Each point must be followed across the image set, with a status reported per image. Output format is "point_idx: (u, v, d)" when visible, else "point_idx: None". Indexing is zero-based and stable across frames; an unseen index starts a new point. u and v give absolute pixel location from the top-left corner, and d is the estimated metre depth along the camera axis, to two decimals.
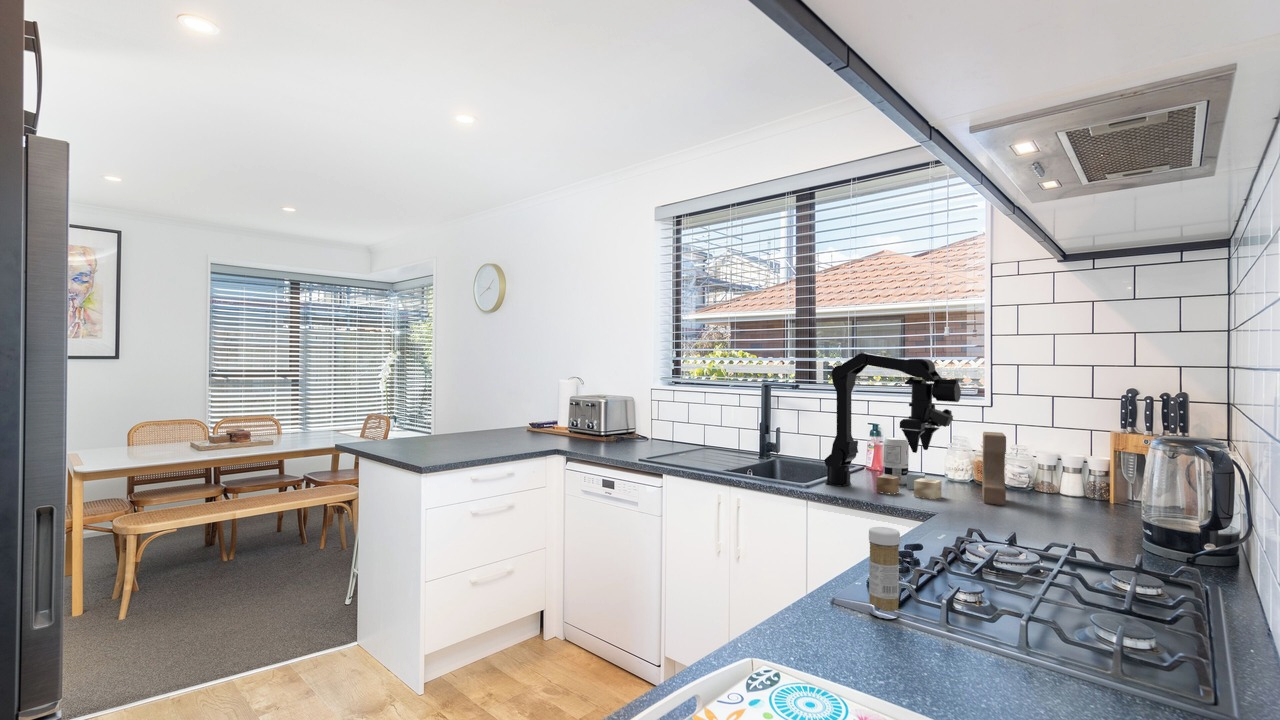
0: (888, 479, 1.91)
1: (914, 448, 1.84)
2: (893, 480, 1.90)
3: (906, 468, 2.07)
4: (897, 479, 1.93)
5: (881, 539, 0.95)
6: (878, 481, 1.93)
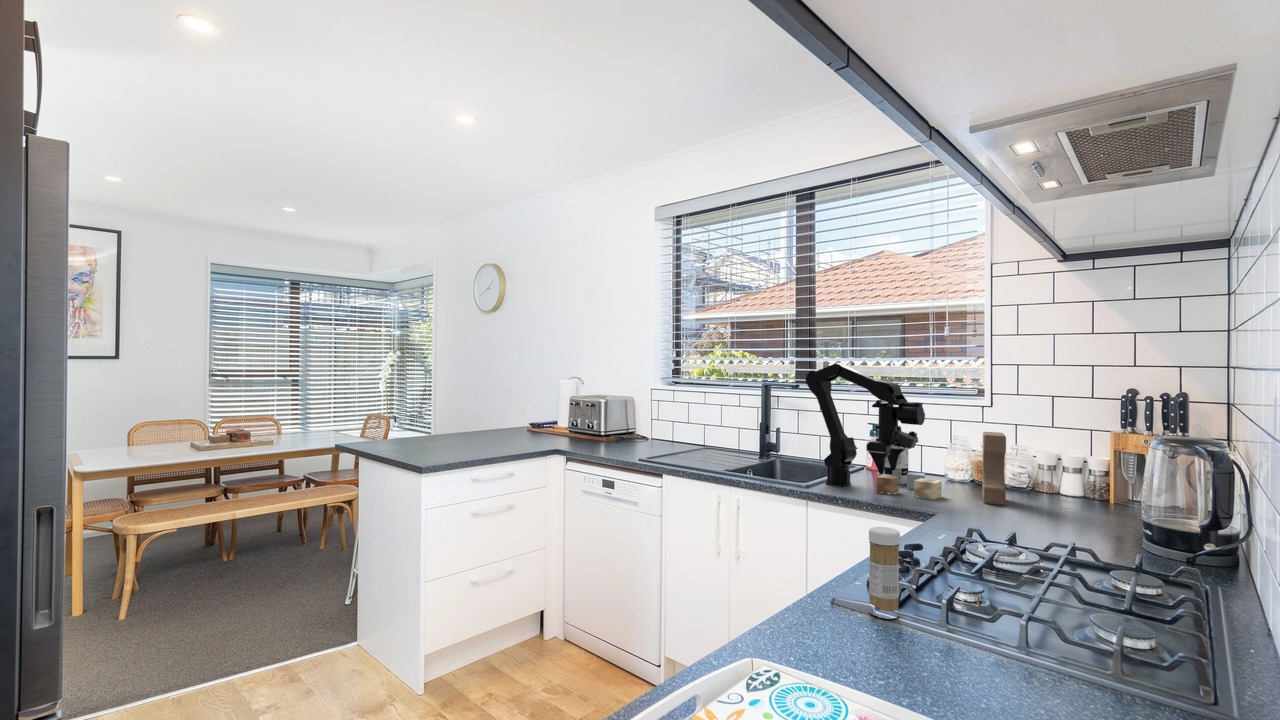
0: (888, 479, 1.91)
1: (881, 469, 1.90)
2: (893, 480, 1.90)
3: (906, 468, 2.07)
4: (897, 479, 1.93)
5: (881, 539, 0.95)
6: (878, 481, 1.93)
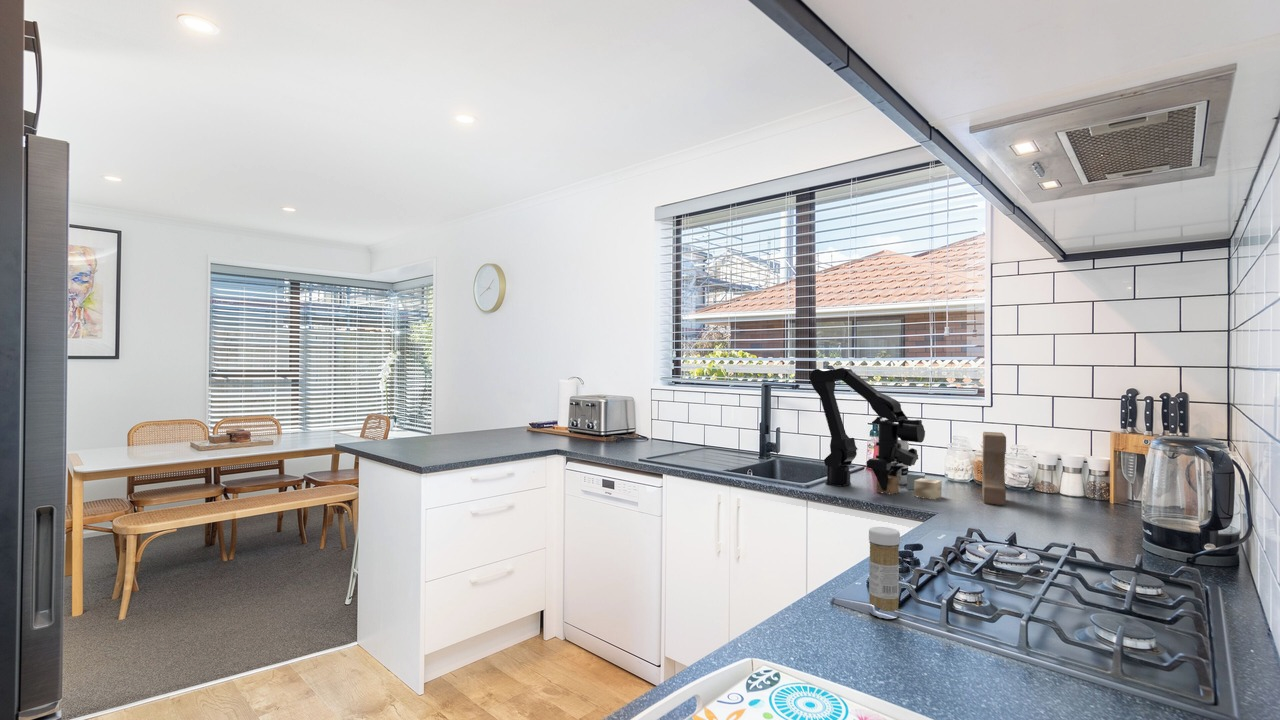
0: (888, 479, 1.91)
1: (883, 486, 1.91)
2: (893, 480, 1.90)
3: (906, 468, 2.07)
4: (897, 479, 1.93)
5: (881, 539, 0.95)
6: None
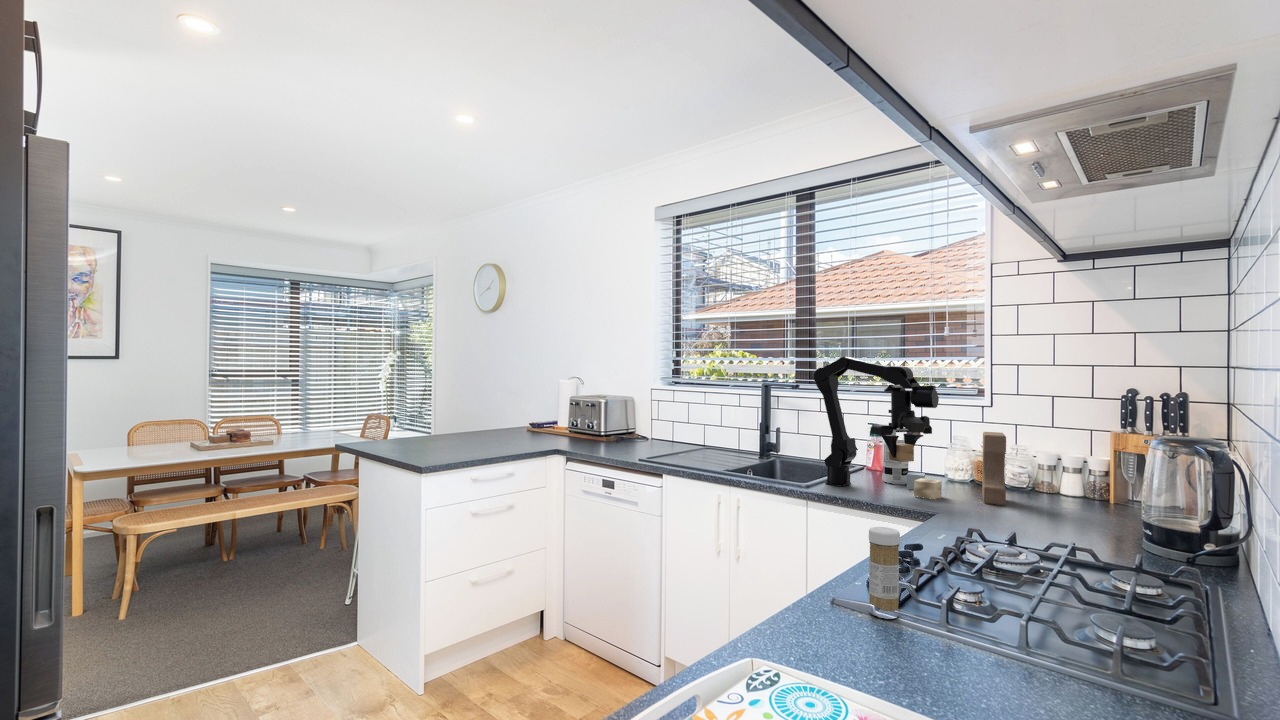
0: (897, 446, 1.90)
1: (892, 453, 1.91)
2: (901, 447, 1.89)
3: (906, 468, 2.07)
4: (910, 447, 1.90)
5: (881, 539, 0.95)
6: None
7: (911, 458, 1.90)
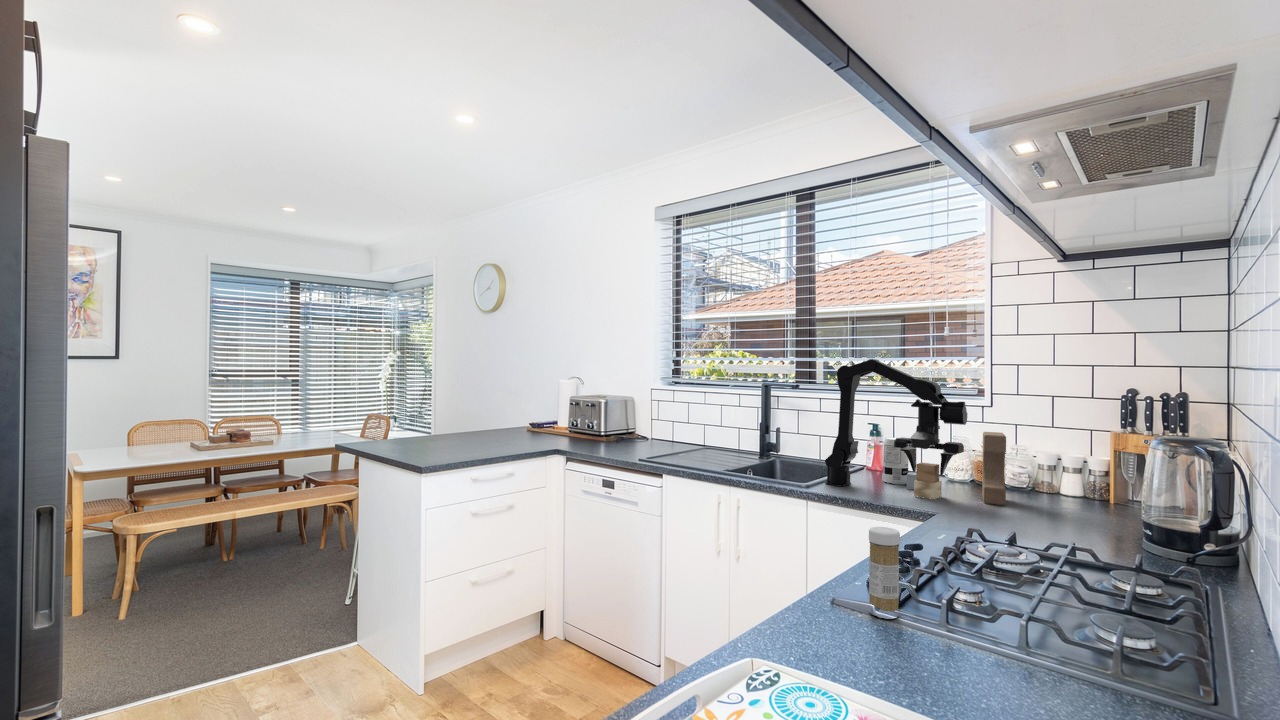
0: None
1: None
2: (918, 466, 1.88)
3: (906, 468, 2.07)
4: (929, 467, 1.85)
5: (881, 539, 0.95)
6: None
7: (930, 479, 1.85)
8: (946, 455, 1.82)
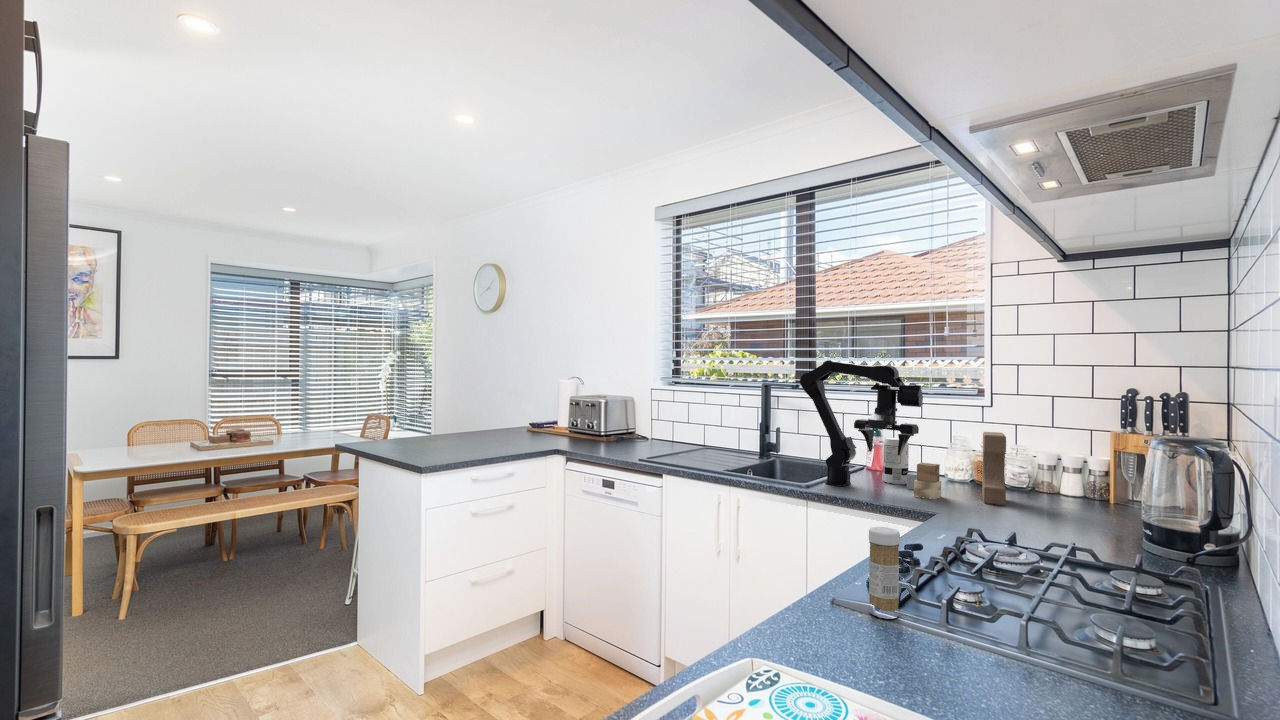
0: None
1: None
2: (919, 466, 1.88)
3: (906, 468, 2.07)
4: (929, 467, 1.86)
5: (881, 539, 0.95)
6: None
7: (931, 479, 1.85)
8: (903, 436, 1.91)
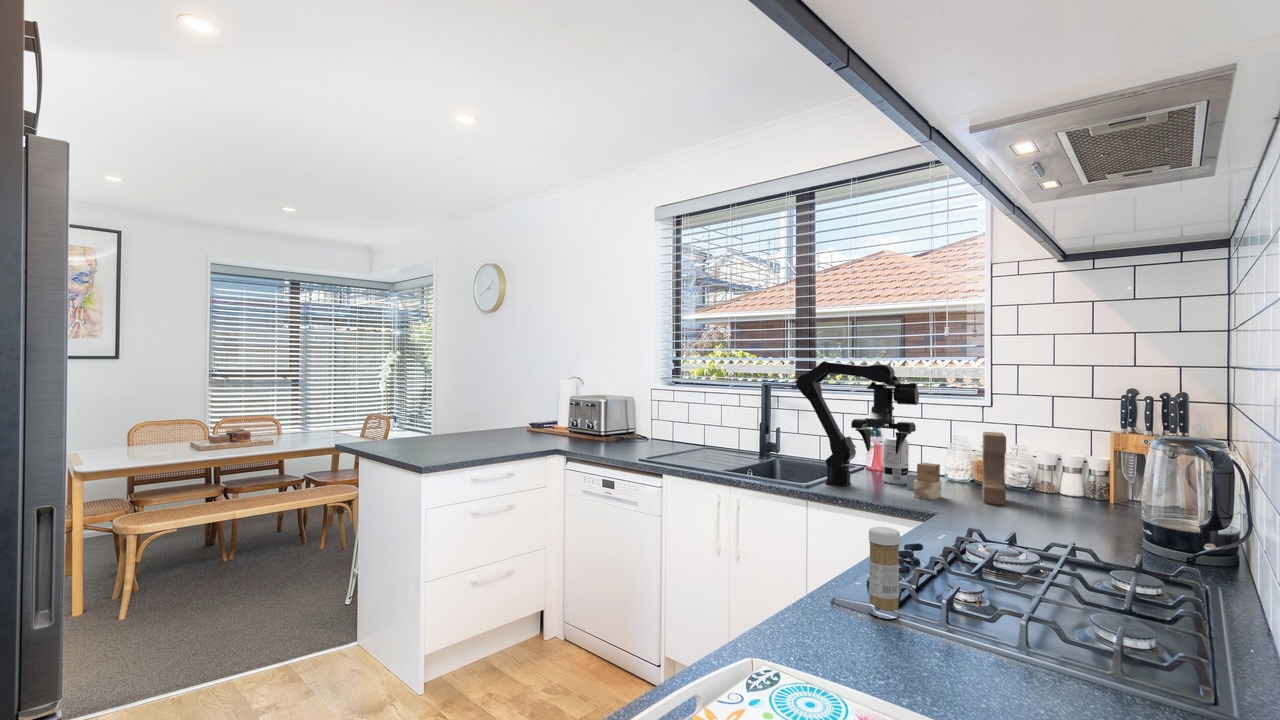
0: None
1: None
2: (919, 466, 1.88)
3: (906, 468, 2.07)
4: (930, 467, 1.85)
5: (881, 539, 0.95)
6: None
7: (931, 479, 1.85)
8: (900, 434, 1.91)
